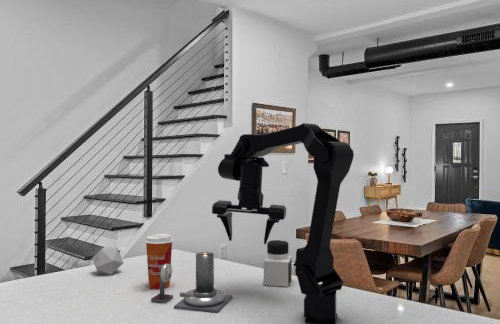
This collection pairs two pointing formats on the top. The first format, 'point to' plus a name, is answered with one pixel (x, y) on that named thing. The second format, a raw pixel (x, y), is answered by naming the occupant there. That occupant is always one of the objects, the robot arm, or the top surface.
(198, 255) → the cylinder with brass cap
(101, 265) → the die
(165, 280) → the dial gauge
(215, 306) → the turntable base
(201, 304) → the platter
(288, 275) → the medicine bottle
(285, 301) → the top surface
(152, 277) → the paper cup
